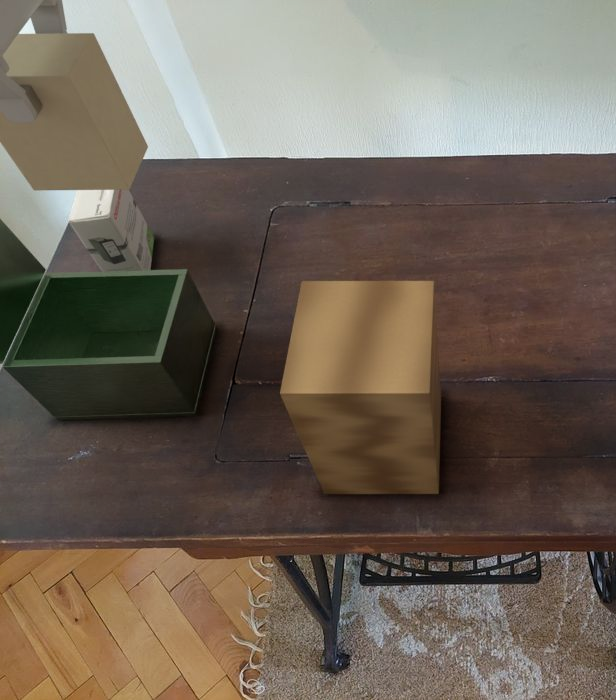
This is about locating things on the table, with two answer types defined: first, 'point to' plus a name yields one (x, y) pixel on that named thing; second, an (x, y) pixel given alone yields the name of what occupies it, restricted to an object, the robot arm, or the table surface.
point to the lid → (15, 285)
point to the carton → (71, 116)
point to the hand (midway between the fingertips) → (46, 87)
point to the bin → (115, 345)
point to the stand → (367, 385)
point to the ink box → (112, 229)
